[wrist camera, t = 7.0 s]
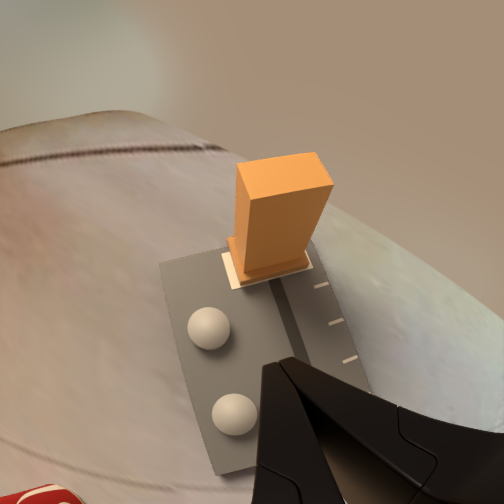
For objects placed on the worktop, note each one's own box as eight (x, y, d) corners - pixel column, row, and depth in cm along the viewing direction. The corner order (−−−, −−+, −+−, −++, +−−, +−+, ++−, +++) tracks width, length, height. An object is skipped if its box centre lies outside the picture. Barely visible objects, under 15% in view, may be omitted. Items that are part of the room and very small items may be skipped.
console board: (372, 416, 19) (385, 416, 17) (216, 471, 16) (215, 479, 14) (302, 235, 26) (308, 221, 24) (162, 269, 23) (156, 257, 21)
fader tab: (307, 268, 22) (345, 192, 14) (240, 286, 21) (246, 211, 13) (290, 228, 24) (316, 144, 16) (227, 243, 23) (226, 157, 15)
